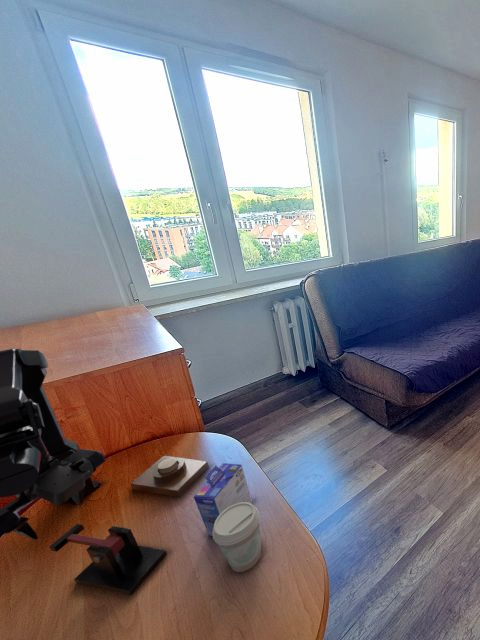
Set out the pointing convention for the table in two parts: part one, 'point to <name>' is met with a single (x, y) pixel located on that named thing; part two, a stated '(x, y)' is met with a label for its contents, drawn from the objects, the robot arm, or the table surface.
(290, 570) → the table surface
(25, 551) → the table surface
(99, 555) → the lever stand
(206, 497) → the ink cartridge box
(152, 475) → the bell block
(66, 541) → the red lever handle
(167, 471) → the bell button
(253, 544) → the coffee cup
